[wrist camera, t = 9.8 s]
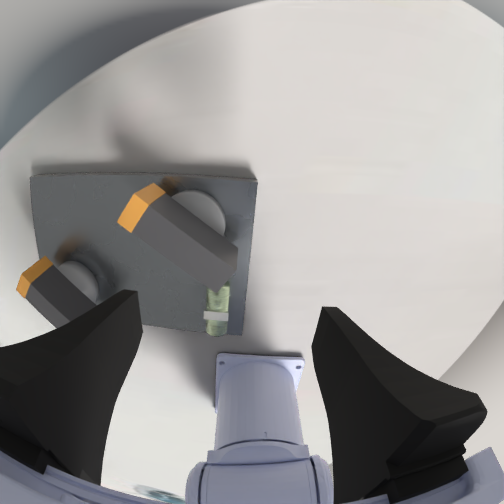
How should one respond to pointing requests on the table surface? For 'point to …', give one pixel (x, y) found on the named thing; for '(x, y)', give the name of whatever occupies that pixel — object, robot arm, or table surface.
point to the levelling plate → (144, 244)
